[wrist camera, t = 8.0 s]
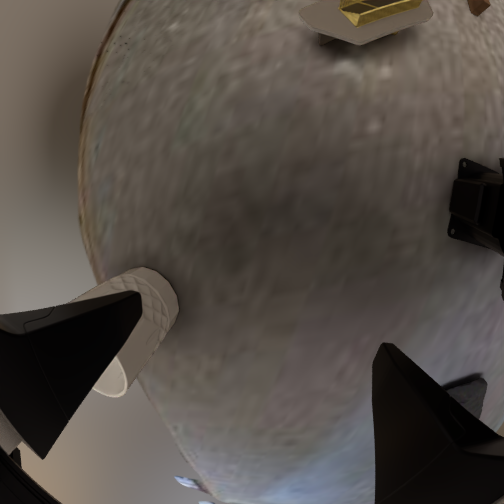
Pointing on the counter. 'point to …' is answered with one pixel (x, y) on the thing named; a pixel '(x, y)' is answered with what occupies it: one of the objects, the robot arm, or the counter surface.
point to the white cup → (137, 326)
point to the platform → (363, 18)
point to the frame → (478, 6)
